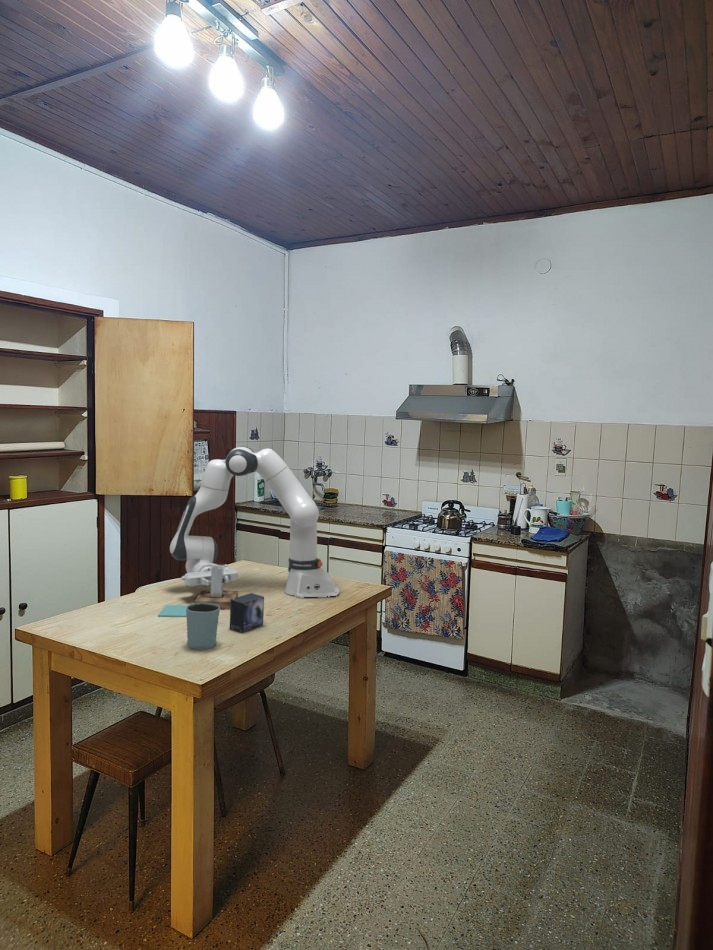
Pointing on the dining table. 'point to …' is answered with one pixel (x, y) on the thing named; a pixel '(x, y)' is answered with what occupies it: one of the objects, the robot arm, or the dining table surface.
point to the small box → (246, 612)
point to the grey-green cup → (202, 625)
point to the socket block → (222, 602)
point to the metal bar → (217, 582)
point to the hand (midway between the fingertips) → (218, 582)
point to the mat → (173, 611)
